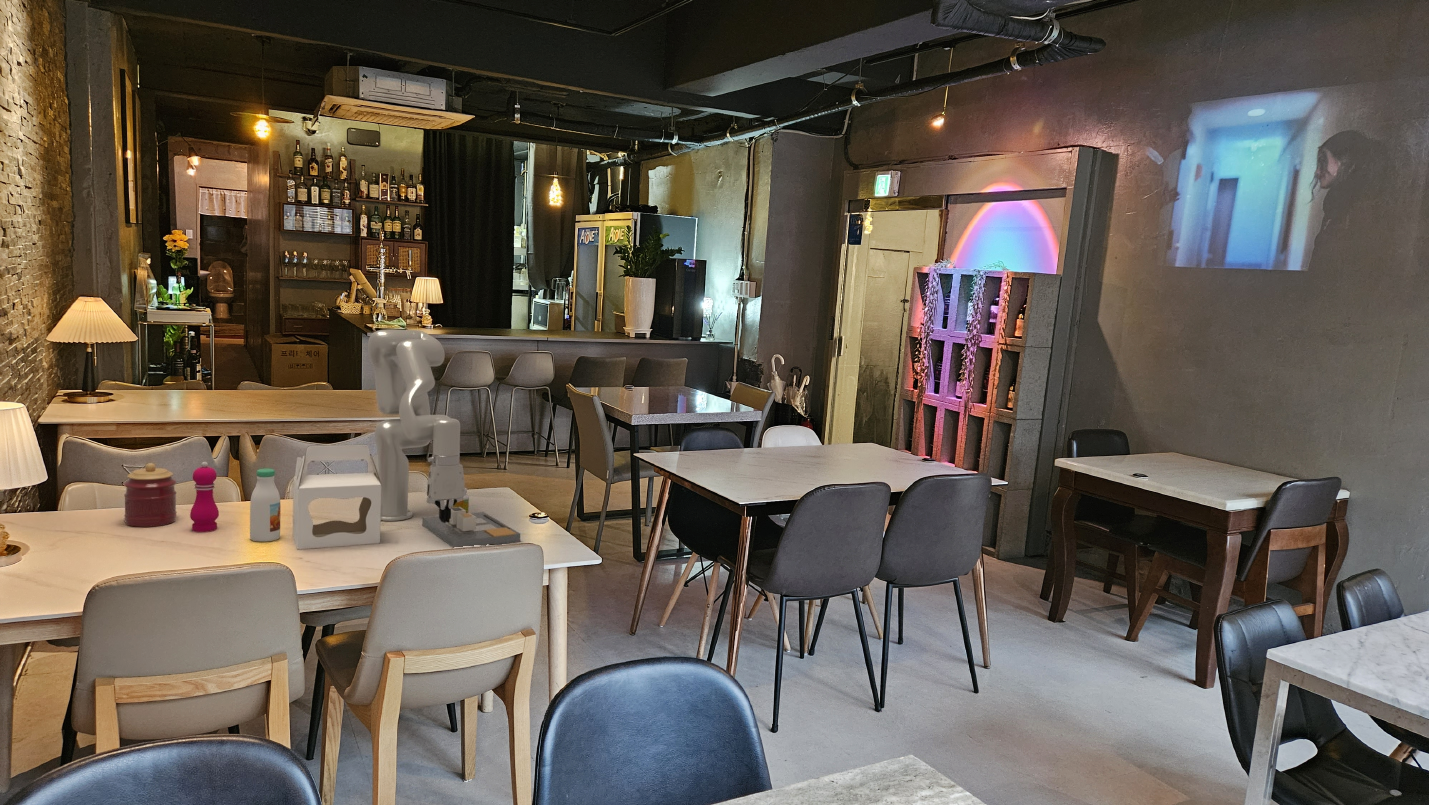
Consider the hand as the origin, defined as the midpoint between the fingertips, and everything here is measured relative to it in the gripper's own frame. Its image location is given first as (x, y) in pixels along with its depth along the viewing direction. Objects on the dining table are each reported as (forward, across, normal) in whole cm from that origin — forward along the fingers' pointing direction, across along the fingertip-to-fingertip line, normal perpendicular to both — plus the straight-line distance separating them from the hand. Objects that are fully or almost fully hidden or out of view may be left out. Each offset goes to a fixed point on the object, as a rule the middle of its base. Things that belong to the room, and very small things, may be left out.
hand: (444, 521), depth 260 cm
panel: (+6, +10, +5) cm, 12 cm away
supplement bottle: (+6, +14, +24) cm, 28 cm away
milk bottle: (+5, -44, +22) cm, 49 cm away
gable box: (+6, -27, +13) cm, 31 cm away
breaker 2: (+3, +7, +1) cm, 8 cm away
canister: (+4, -69, +52) cm, 86 cm away
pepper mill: (+5, -57, +38) cm, 69 cm away
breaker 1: (+3, +7, +9) cm, 12 cm away
